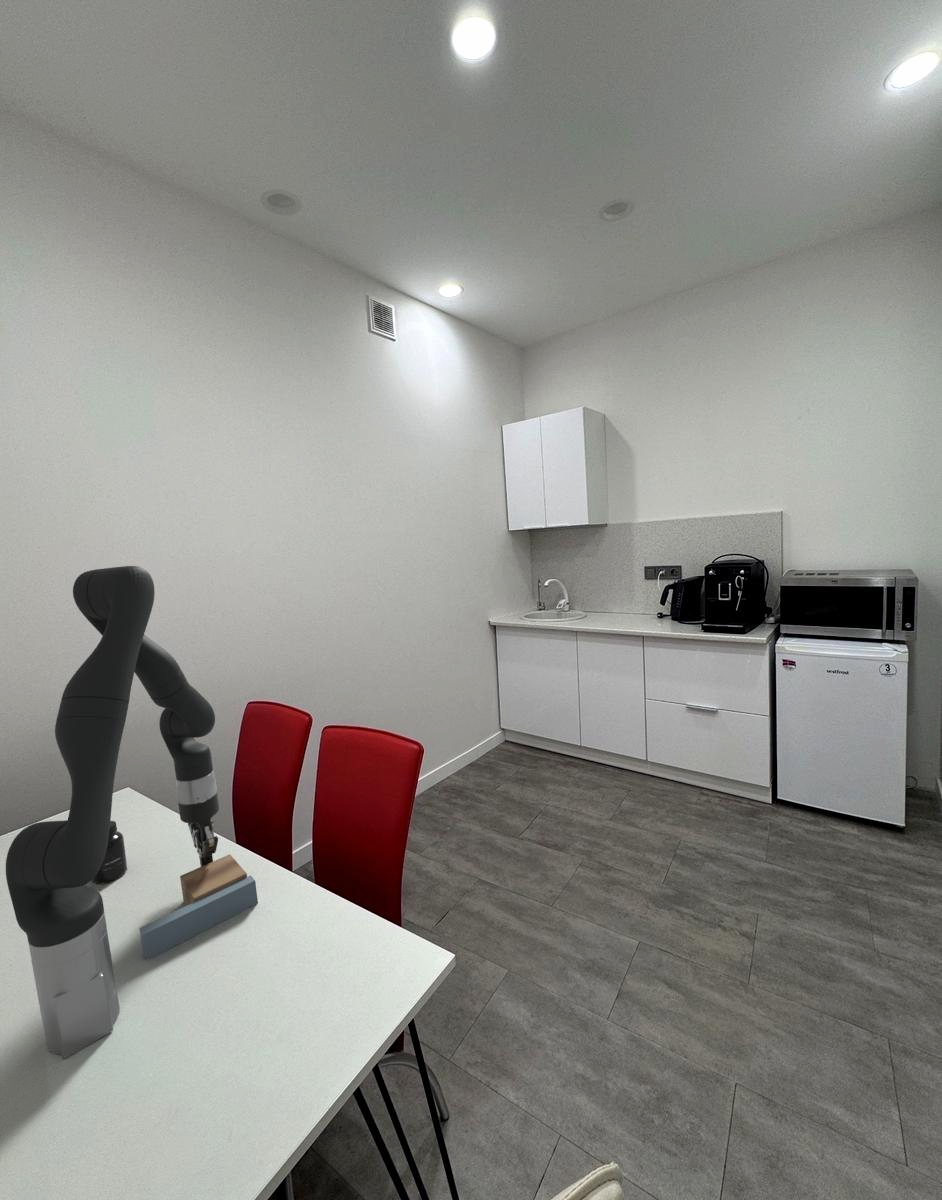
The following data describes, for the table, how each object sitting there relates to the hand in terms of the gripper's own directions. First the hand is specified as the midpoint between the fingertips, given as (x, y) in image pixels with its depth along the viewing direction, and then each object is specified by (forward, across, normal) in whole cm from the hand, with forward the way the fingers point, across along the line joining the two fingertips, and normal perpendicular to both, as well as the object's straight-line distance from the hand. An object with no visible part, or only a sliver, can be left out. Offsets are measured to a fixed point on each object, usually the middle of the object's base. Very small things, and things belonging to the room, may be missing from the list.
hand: (207, 869), depth 115 cm
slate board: (+4, +13, -5) cm, 15 cm away
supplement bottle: (+4, -22, -15) cm, 27 cm away
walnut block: (+4, +7, -1) cm, 8 cm away
